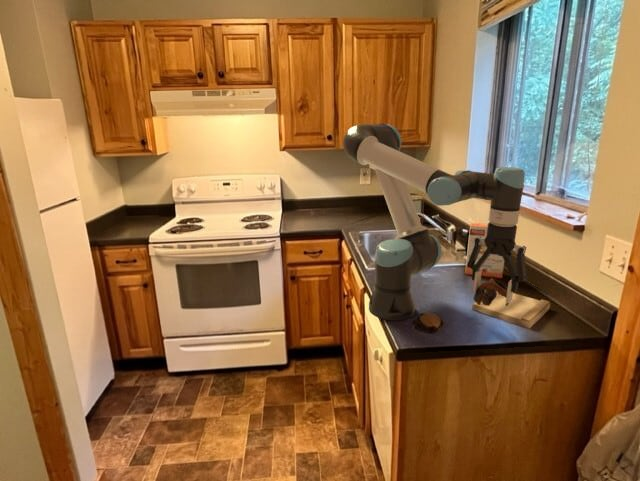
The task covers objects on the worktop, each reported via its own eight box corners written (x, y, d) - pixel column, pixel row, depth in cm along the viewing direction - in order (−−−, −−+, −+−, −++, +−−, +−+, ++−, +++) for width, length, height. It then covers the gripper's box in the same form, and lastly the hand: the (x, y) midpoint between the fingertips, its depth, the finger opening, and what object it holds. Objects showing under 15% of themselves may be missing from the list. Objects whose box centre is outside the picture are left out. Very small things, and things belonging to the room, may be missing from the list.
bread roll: (420, 315, 128) (420, 305, 127) (446, 322, 124) (447, 311, 123) (408, 329, 120) (409, 318, 119) (436, 337, 115) (437, 325, 114)
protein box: (417, 218, 253) (418, 194, 249) (422, 224, 239) (424, 199, 234) (401, 218, 254) (402, 194, 249) (405, 224, 239) (406, 199, 234)
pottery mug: (473, 294, 125) (490, 274, 123) (499, 314, 121) (517, 293, 119) (466, 299, 115) (484, 277, 112) (494, 321, 111) (513, 299, 108)
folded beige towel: (472, 309, 131) (472, 302, 130) (494, 293, 142) (495, 286, 142) (529, 328, 118) (530, 320, 117) (549, 308, 130) (550, 301, 129)
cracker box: (465, 275, 160) (469, 225, 154) (465, 269, 165) (469, 221, 159) (502, 279, 155) (509, 228, 149) (501, 273, 160) (507, 224, 154)
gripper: (459, 218, 115) (452, 288, 122) (539, 234, 100) (525, 312, 107) (471, 214, 120) (463, 281, 127) (549, 228, 105) (535, 303, 112)
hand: (491, 295), depth 117 cm, fingers closed on pottery mug, 9 cm apart
